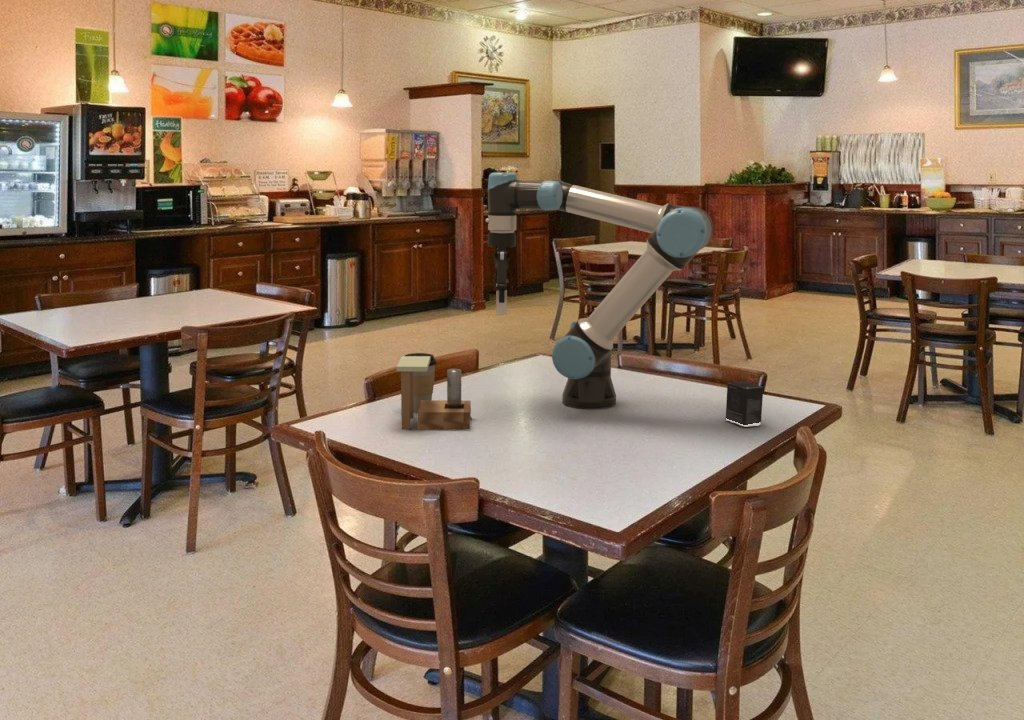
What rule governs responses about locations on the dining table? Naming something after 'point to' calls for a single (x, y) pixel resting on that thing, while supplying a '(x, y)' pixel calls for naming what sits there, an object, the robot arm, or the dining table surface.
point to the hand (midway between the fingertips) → (501, 311)
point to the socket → (443, 415)
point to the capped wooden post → (409, 384)
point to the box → (744, 402)
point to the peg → (454, 389)
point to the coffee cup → (423, 382)
